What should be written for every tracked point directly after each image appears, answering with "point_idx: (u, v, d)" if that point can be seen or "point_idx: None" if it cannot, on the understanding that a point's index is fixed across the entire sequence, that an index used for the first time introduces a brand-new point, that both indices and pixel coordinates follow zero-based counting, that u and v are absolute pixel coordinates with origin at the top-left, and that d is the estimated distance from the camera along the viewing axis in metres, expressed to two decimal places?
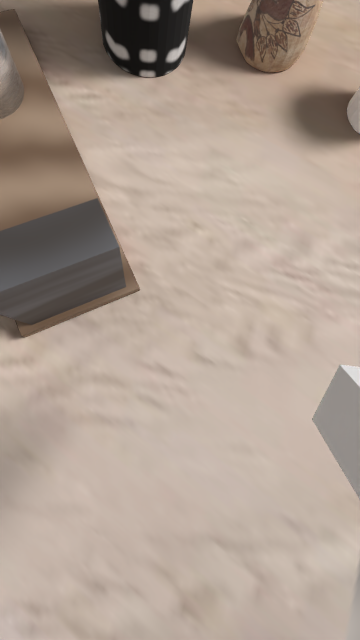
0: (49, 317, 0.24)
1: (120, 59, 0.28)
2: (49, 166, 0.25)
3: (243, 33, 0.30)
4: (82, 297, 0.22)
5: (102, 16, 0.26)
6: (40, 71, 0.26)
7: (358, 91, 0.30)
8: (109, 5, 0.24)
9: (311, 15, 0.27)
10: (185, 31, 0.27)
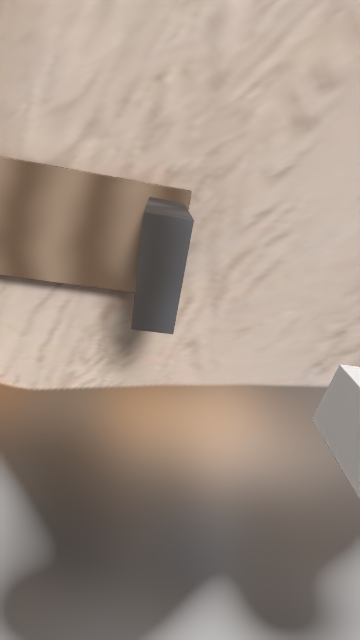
0: None
1: None
2: (38, 200, 0.25)
3: None
4: None
5: None
6: None
7: None
8: None
9: None
10: None
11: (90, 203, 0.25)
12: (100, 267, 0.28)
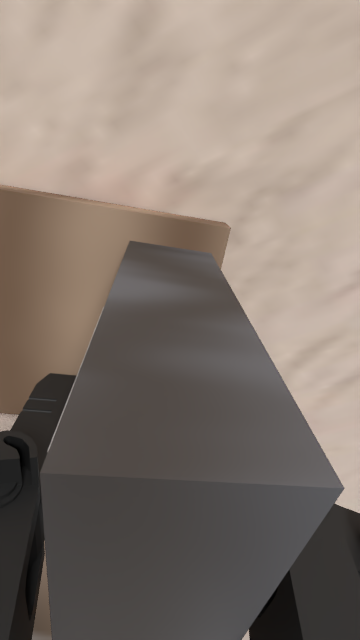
0: None
1: None
2: None
3: None
4: None
5: None
6: None
7: None
8: None
9: None
10: None
11: None
12: (29, 381, 0.13)
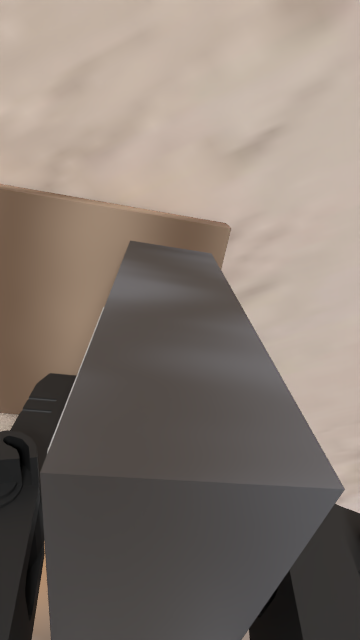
0: None
1: None
2: None
3: None
4: None
5: None
6: None
7: None
8: None
9: None
10: None
11: None
12: (29, 381, 0.13)
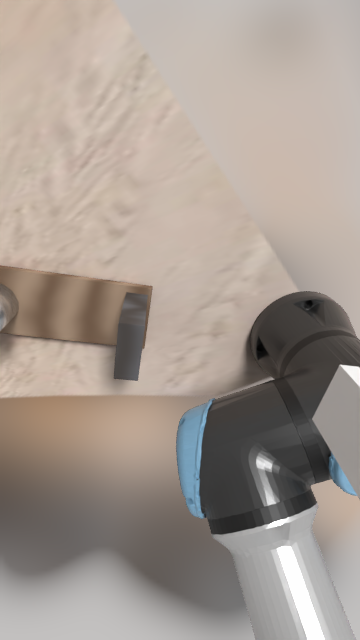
0: None
1: None
2: (58, 295, 0.41)
3: None
4: None
5: None
6: None
7: None
8: None
9: None
10: None
11: (90, 296, 0.41)
12: (96, 331, 0.44)
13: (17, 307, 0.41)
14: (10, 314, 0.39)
